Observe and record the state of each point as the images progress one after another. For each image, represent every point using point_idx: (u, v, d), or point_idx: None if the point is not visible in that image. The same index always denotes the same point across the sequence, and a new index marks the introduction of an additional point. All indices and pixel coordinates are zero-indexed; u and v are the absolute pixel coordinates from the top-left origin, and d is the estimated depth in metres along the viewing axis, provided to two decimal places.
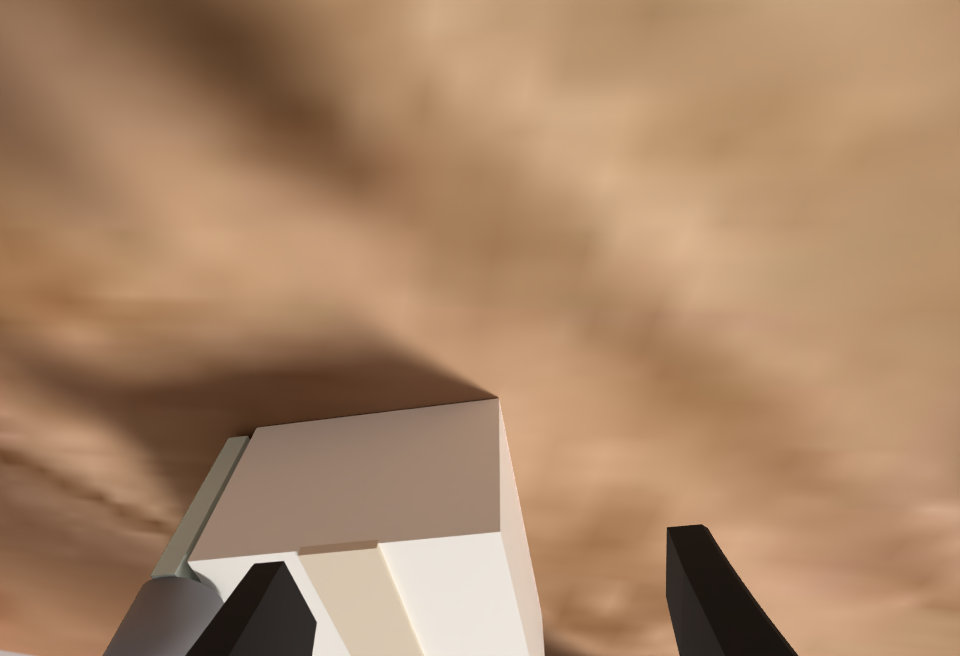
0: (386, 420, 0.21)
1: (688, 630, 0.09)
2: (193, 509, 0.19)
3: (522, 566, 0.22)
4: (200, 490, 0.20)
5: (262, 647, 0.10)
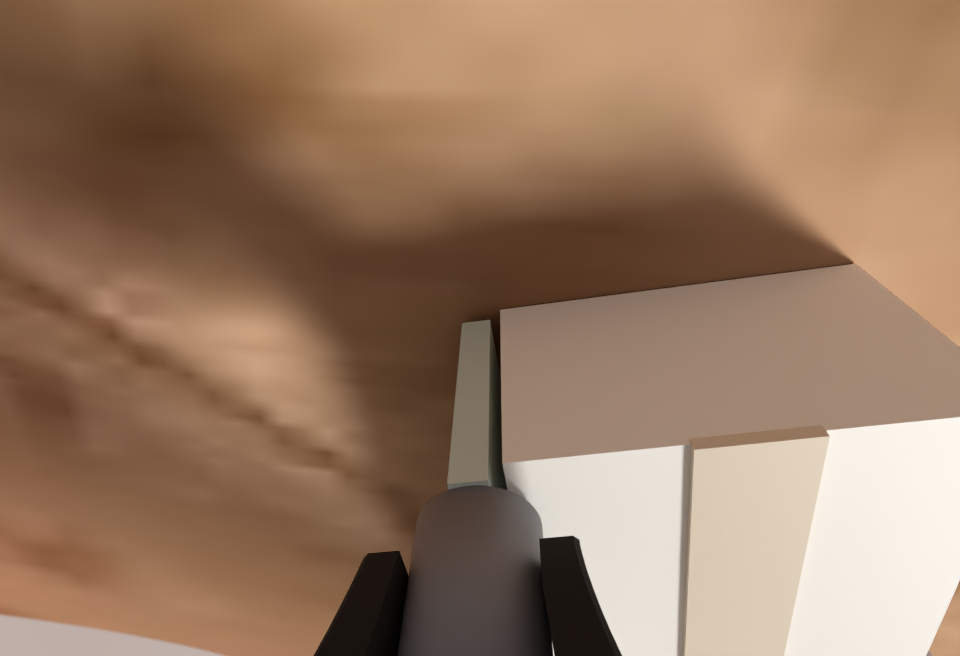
0: (698, 293, 0.15)
1: None
2: (463, 401, 0.13)
3: None
4: (459, 379, 0.14)
5: (389, 638, 0.09)
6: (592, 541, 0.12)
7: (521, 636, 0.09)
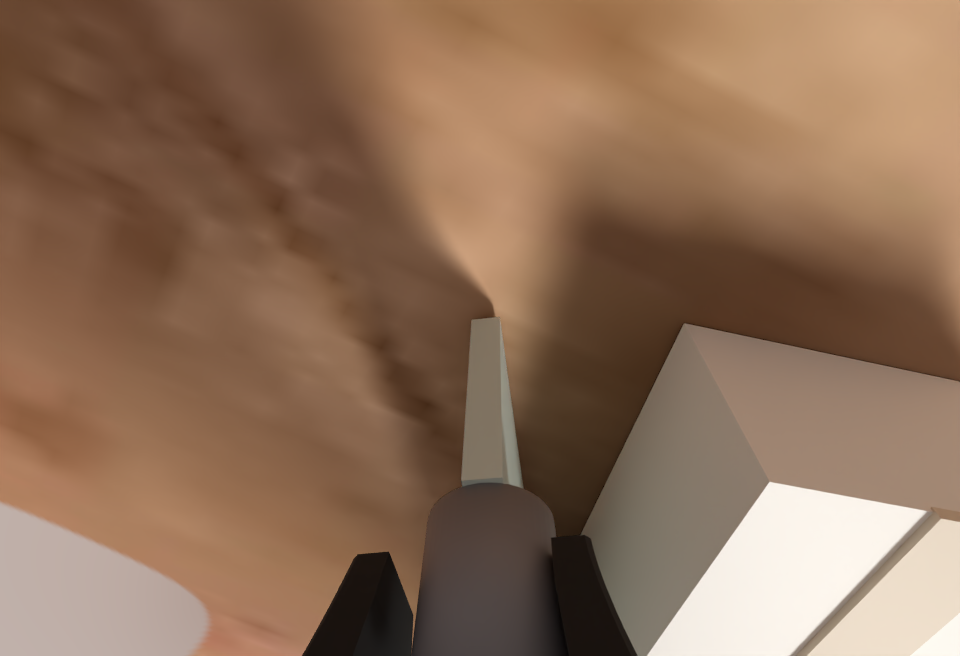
0: (863, 369, 0.16)
1: None
2: (475, 398, 0.13)
3: None
4: (471, 376, 0.14)
5: (378, 639, 0.09)
6: (780, 572, 0.13)
7: (539, 634, 0.09)
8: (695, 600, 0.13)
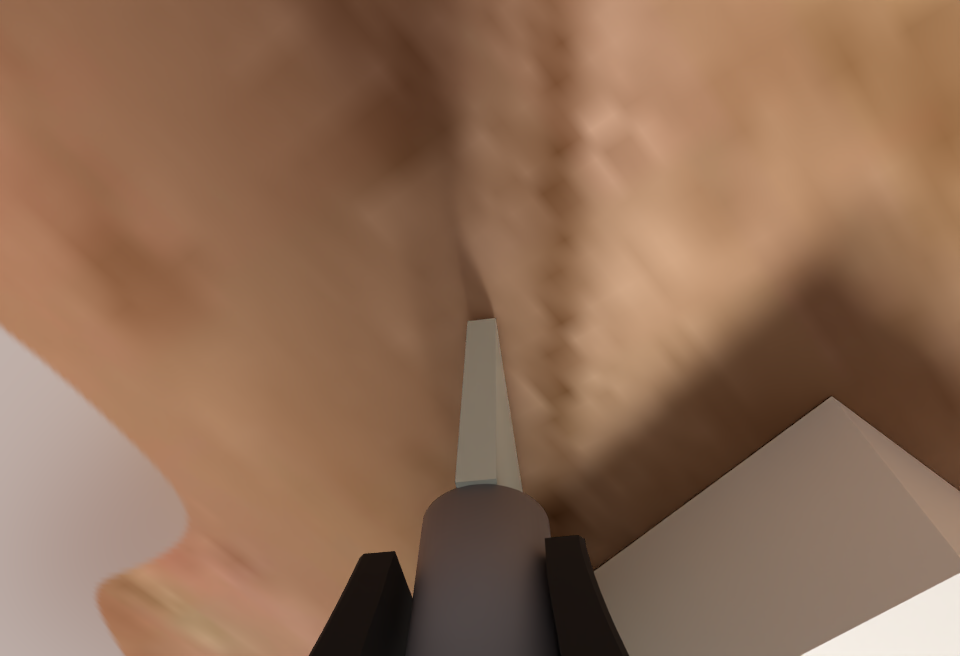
0: (942, 482, 0.19)
1: None
2: (470, 399, 0.13)
3: None
4: (466, 377, 0.14)
5: (384, 638, 0.09)
6: (905, 645, 0.14)
7: (531, 636, 0.09)
8: (820, 651, 0.14)
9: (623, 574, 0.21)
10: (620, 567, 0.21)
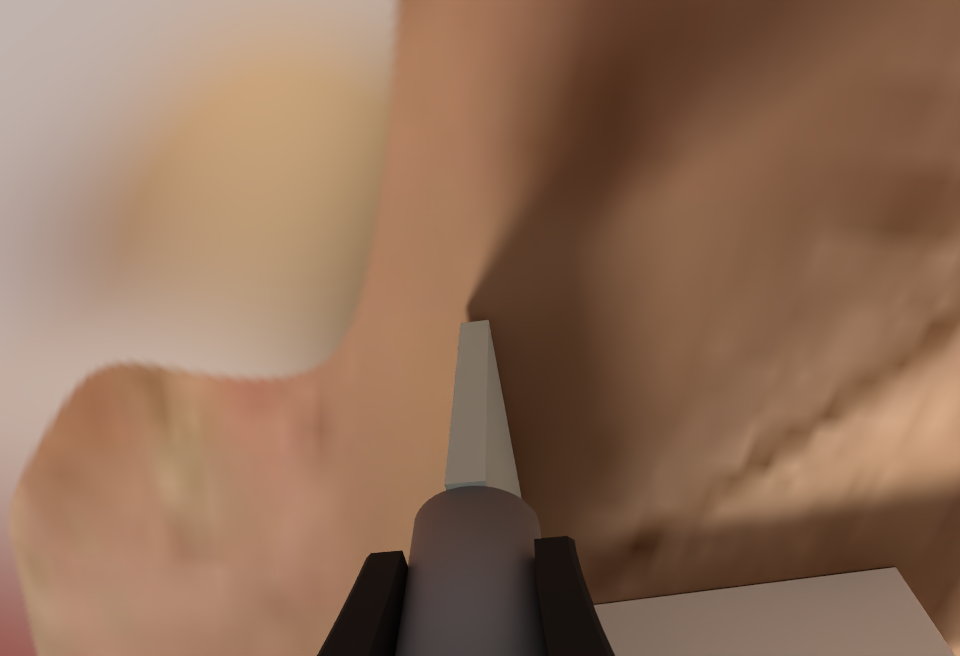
0: None
1: None
2: (461, 401, 0.13)
3: None
4: (458, 380, 0.14)
5: (392, 638, 0.09)
6: None
7: (518, 636, 0.09)
8: None
9: (649, 620, 0.23)
10: (645, 612, 0.23)
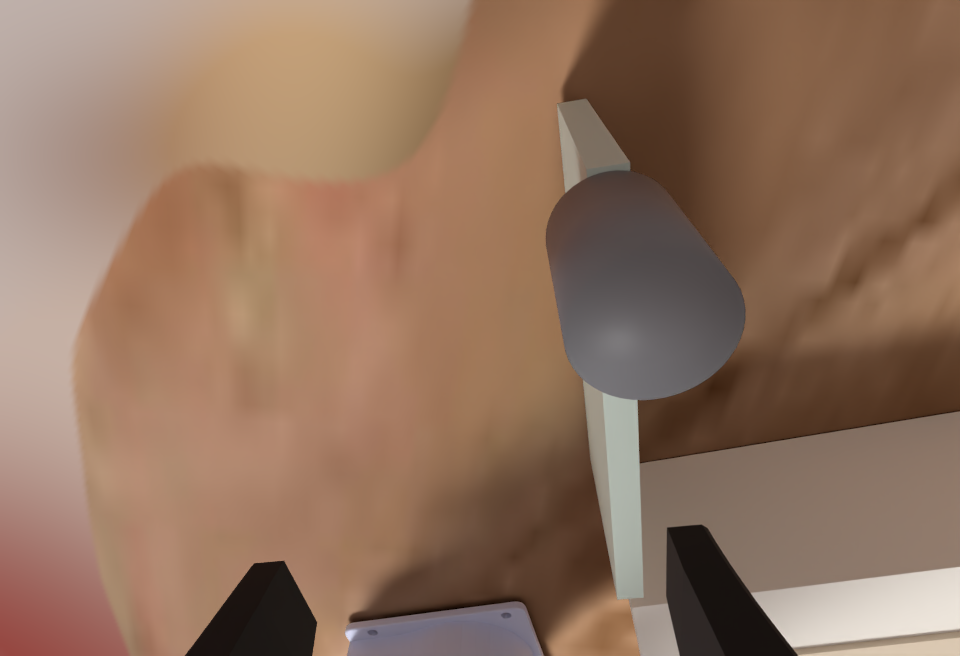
0: None
1: (688, 630, 0.09)
2: (581, 134, 0.13)
3: None
4: (570, 125, 0.13)
5: (262, 647, 0.10)
6: None
7: (703, 244, 0.08)
8: None
9: (722, 468, 0.22)
10: (718, 462, 0.22)
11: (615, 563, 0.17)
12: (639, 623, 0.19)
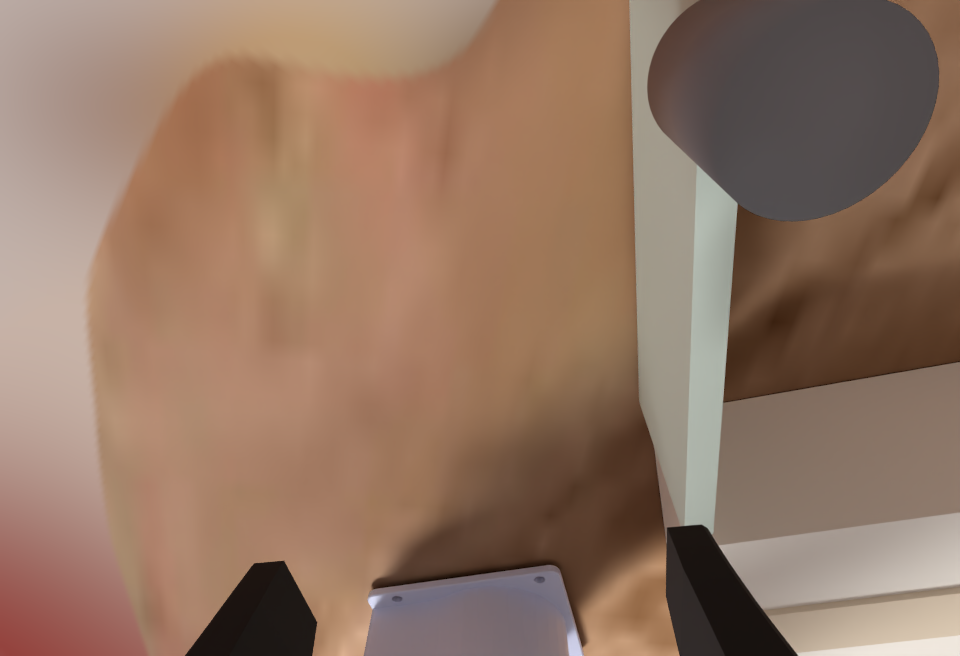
0: None
1: (688, 630, 0.09)
2: None
3: None
4: None
5: (262, 647, 0.10)
6: None
7: None
8: None
9: (782, 410, 0.21)
10: (776, 404, 0.21)
11: (686, 492, 0.15)
12: None
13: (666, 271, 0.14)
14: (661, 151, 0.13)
